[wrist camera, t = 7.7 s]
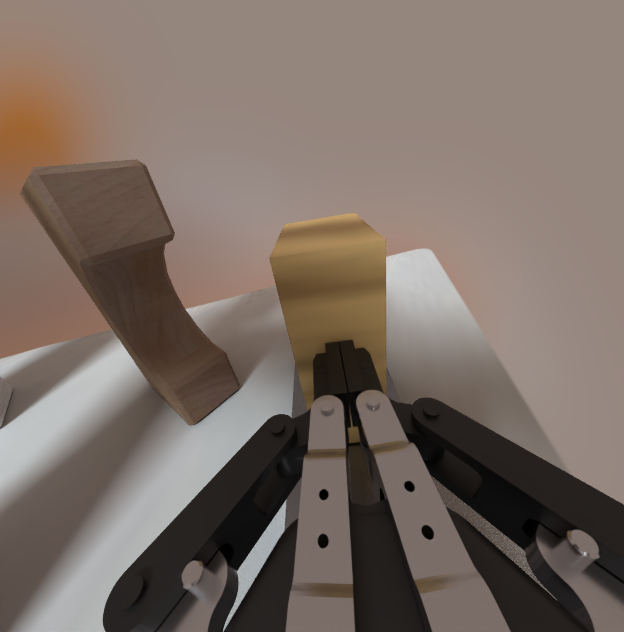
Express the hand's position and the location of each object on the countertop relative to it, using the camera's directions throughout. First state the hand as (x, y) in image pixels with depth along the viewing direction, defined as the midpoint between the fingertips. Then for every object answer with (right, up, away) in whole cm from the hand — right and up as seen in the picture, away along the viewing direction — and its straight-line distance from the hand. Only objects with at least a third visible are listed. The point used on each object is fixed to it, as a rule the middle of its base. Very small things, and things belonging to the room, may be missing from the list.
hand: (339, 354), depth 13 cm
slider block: (+1, -5, +8) cm, 9 cm away
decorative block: (-14, -6, +13) cm, 20 cm away
